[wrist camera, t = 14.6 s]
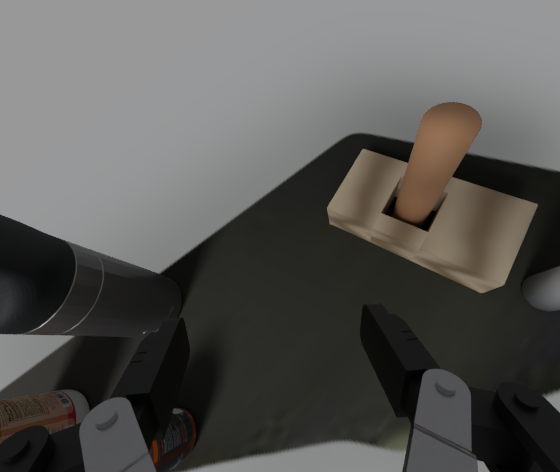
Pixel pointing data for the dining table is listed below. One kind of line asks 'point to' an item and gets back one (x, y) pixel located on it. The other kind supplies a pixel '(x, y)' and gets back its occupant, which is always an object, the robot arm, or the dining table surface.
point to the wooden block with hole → (435, 223)
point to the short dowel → (543, 290)
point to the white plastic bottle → (42, 411)
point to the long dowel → (435, 159)
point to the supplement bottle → (174, 442)
